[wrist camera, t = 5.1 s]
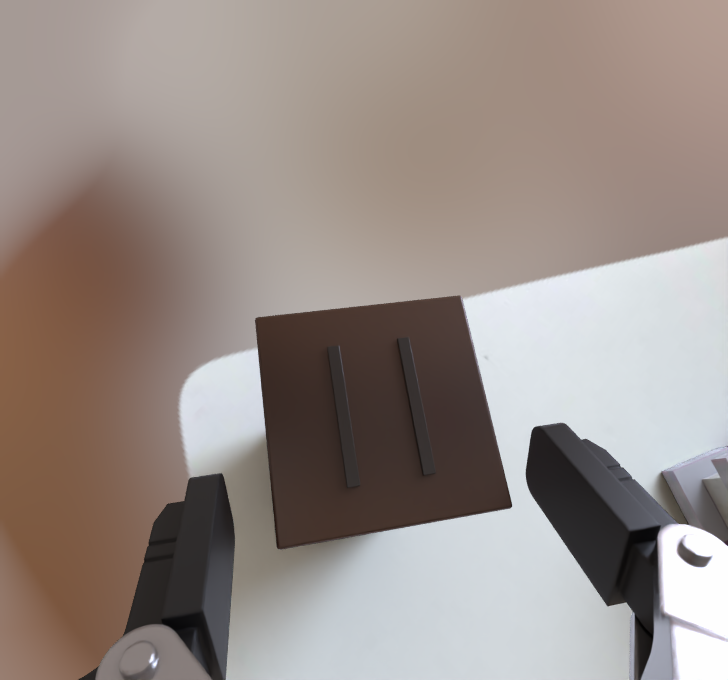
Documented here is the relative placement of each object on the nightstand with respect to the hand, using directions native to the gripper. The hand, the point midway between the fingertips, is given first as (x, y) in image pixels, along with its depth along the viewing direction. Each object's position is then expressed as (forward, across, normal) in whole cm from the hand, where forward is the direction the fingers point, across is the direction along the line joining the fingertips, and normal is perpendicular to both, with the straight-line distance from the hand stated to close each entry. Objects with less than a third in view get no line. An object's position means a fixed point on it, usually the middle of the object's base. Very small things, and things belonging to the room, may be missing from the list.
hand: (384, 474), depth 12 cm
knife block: (+12, 0, +9) cm, 15 cm away
